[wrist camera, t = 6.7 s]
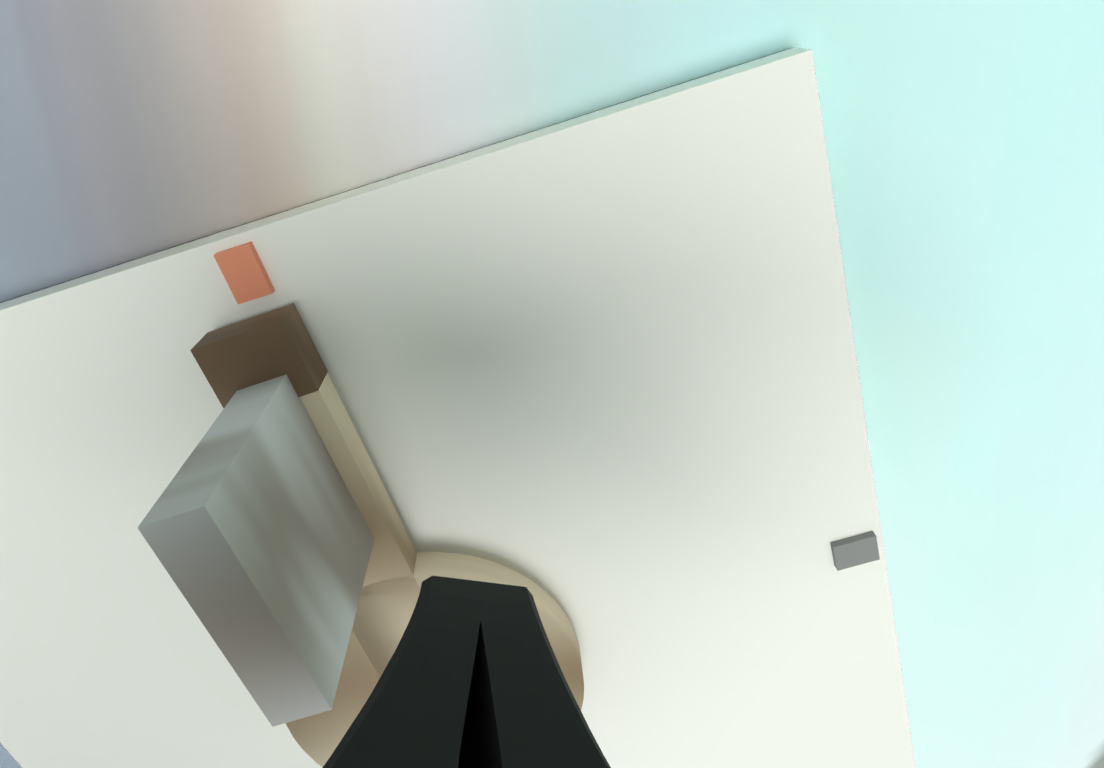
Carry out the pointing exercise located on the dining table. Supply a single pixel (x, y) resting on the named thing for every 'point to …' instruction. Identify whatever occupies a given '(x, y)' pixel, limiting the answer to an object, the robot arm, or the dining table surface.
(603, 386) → the dial base
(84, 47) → the dining table surface
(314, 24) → the dining table surface
